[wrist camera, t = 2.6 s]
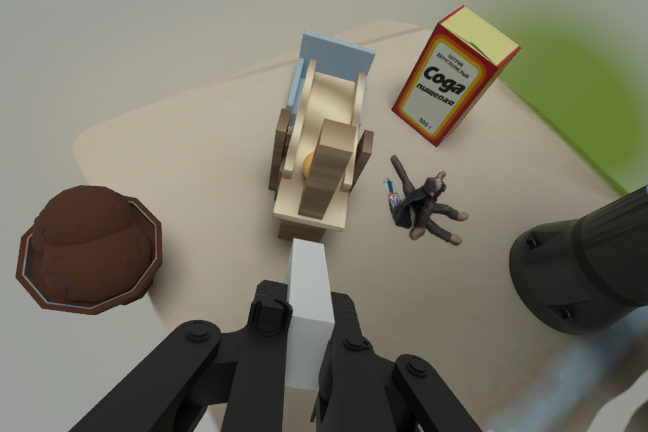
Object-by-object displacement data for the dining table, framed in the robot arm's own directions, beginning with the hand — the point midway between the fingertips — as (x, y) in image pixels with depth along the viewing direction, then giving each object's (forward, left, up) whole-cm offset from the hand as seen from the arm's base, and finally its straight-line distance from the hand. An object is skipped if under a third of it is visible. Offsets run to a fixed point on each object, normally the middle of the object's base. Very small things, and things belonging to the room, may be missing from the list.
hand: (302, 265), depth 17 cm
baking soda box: (-30, -29, -24) cm, 48 cm away
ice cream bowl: (+14, -8, -24) cm, 29 cm away
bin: (-13, -32, -24) cm, 42 cm away
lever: (-8, -18, -14) cm, 24 cm away
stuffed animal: (-24, -14, -25) cm, 37 cm away
